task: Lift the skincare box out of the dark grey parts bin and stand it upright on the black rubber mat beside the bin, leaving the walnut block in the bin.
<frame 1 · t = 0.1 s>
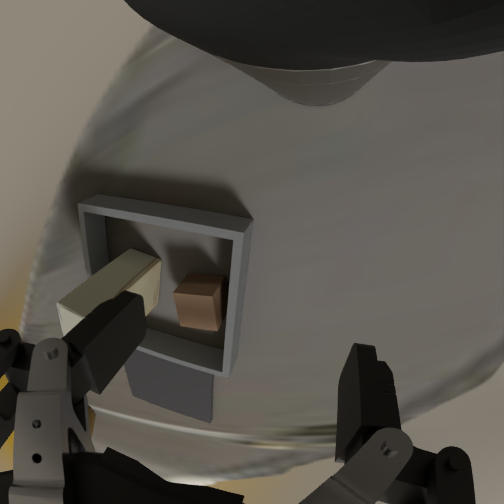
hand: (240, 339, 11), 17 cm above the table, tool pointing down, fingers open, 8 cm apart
skincare box: (144, 273, 33), resting in parts bin
walnut block: (209, 290, 32), resting in parts bin
parts bin: (166, 280, 32), on the table
place mat: (168, 381, 40), on the table
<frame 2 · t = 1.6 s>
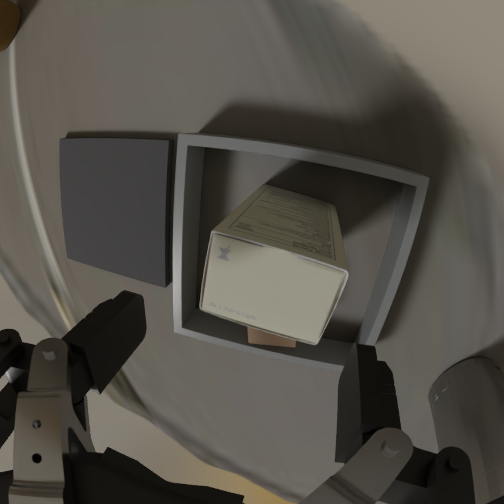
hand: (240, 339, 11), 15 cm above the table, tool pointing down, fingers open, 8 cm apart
skincare box: (294, 217, 24), resting in parts bin
walnut block: (279, 301, 27), resting in parts bin
plant pot: (8, 30, 22), on the table
parts bin: (288, 251, 25), on the table
place mat: (110, 206, 28), on the table
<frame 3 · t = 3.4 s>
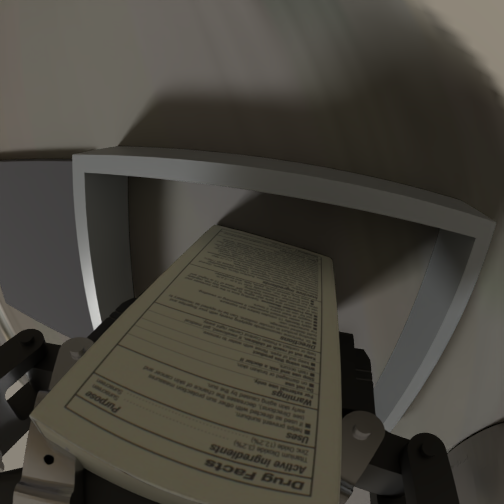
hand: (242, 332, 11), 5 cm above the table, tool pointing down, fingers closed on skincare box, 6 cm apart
skincare box: (266, 274, 15), resting in parts bin, touching gripper
parts bin: (259, 323, 16), on the table
place mat: (34, 248, 19), on the table
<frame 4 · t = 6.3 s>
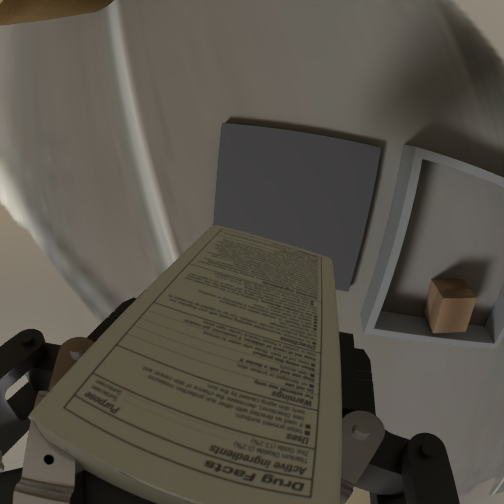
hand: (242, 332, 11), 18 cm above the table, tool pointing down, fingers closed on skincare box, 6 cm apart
skincare box: (266, 274, 15), point 13 cm above the table, touching gripper
walnut block: (443, 295, 27), resting in parts bin
parts bin: (459, 253, 25), on the table
place mat: (290, 207, 27), on the table
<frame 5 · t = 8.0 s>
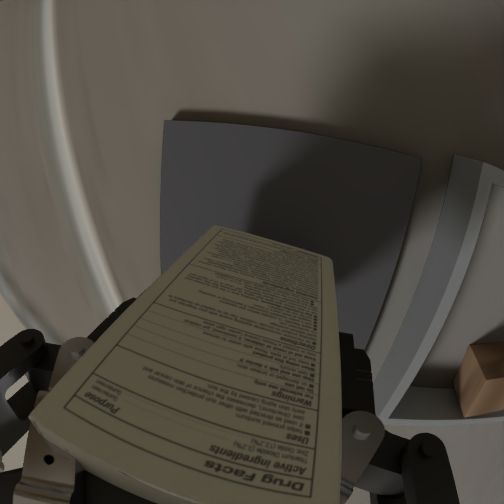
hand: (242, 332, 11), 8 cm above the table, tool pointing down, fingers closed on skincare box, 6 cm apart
skincare box: (266, 274, 15), point 3 cm above the table, touching gripper
walnut block: (479, 361, 17), resting in parts bin
place mat: (274, 251, 18), on the table
when the fingers open (7 cm above the table, at t = 9.3 s): skincare box drops 1 cm, resting on place mat.
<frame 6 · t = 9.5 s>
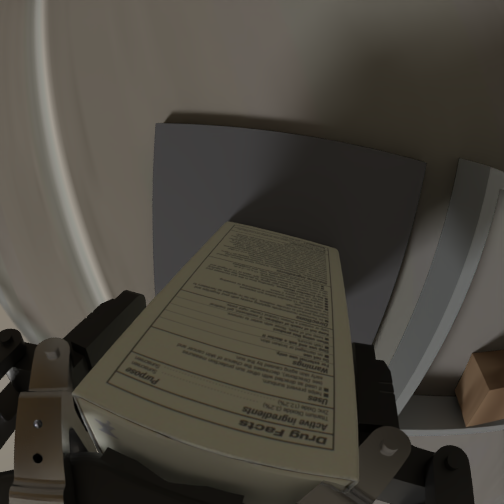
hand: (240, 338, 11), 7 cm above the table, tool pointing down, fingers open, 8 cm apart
skincare box: (277, 266, 16), point 1 cm above the table, touching place mat
walnut block: (482, 369, 17), resting in parts bin
place mat: (271, 260, 17), on the table
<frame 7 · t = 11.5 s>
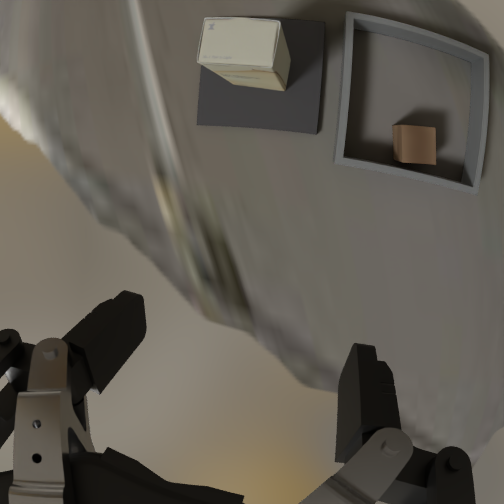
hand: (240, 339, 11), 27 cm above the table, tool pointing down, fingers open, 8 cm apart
skincare box: (263, 70, 30), point 1 cm above the table, touching place mat
walnut block: (408, 143, 30), resting in parts bin
parts bin: (413, 102, 28), on the table
place mat: (260, 71, 30), on the table
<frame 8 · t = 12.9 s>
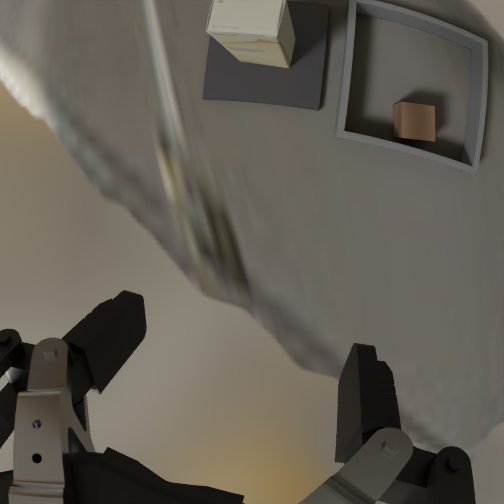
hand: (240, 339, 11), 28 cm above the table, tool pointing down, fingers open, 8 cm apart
skincare box: (268, 49, 29), point 1 cm above the table, touching place mat
walnut block: (408, 122, 30), resting in parts bin
parts bin: (413, 84, 28), on the table
place mat: (266, 49, 30), on the table
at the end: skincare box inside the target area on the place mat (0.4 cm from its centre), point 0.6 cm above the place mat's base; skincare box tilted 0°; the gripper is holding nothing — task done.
